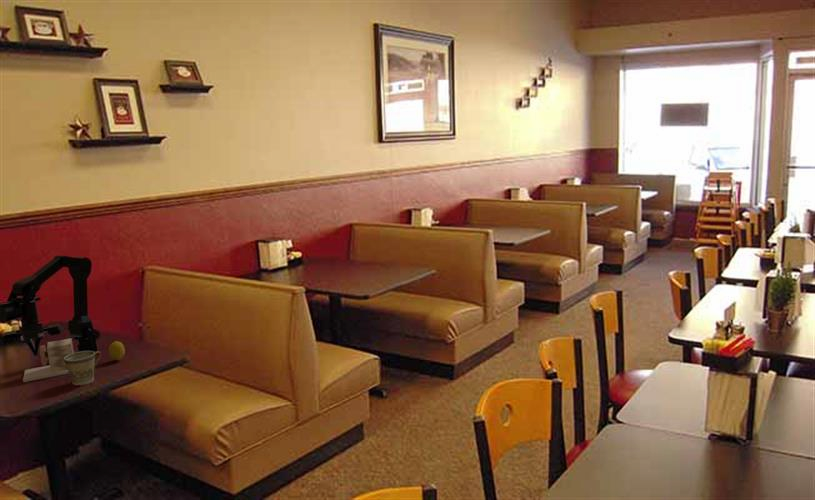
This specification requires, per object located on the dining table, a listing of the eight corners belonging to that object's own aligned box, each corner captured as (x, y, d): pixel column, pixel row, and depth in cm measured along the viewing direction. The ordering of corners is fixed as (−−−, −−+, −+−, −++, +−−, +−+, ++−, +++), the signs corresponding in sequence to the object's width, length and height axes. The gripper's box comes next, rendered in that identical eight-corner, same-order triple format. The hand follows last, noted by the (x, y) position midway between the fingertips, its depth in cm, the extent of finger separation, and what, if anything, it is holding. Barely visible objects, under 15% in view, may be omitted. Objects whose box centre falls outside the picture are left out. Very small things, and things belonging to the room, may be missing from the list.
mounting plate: (78, 362, 254) (78, 359, 254) (78, 371, 244) (78, 368, 244) (25, 372, 247) (25, 369, 247) (23, 382, 236) (22, 379, 236)
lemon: (129, 358, 255) (126, 339, 253) (117, 363, 250) (114, 343, 248) (119, 357, 257) (116, 338, 255) (107, 362, 252) (104, 342, 251)
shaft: (71, 355, 250) (68, 340, 249) (70, 360, 245) (68, 344, 244) (42, 360, 246) (40, 345, 245) (42, 365, 241) (39, 350, 240)
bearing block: (75, 361, 252) (71, 338, 250) (75, 367, 245) (71, 343, 243) (51, 366, 249) (47, 342, 247) (51, 372, 242) (46, 348, 240)
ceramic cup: (78, 389, 226) (74, 362, 224) (62, 385, 231) (57, 358, 229) (112, 376, 236) (108, 350, 234) (96, 372, 242) (92, 346, 240)
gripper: (-4, 325, 228) (4, 367, 231) (56, 315, 236) (63, 356, 239) (0, 317, 238) (7, 358, 241) (57, 308, 246) (64, 348, 249)
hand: (36, 355), depth 242 cm, fingers closed
